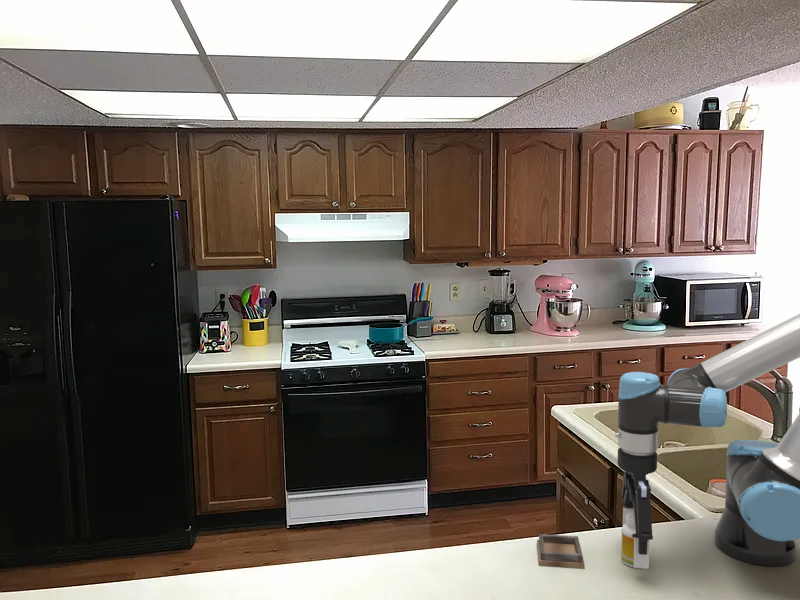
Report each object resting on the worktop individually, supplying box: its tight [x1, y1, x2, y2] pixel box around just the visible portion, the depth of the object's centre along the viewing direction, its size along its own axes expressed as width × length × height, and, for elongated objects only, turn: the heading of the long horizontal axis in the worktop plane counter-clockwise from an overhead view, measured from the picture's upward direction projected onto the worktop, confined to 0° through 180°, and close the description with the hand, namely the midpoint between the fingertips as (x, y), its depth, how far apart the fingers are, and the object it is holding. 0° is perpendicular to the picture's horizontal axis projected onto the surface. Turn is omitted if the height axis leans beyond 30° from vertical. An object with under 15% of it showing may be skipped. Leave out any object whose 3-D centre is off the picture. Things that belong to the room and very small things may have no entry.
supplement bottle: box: [620, 513, 636, 569], centre depth 130 cm, size 5×5×10 cm
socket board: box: [536, 533, 585, 569], centre depth 133 cm, size 9×9×2 cm
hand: (635, 551), depth 130 cm, fingers open, 11 cm apart
